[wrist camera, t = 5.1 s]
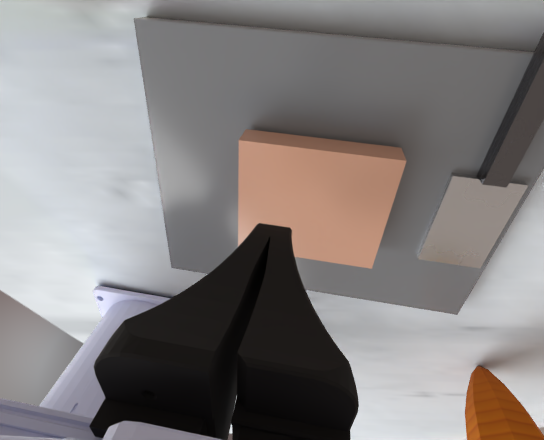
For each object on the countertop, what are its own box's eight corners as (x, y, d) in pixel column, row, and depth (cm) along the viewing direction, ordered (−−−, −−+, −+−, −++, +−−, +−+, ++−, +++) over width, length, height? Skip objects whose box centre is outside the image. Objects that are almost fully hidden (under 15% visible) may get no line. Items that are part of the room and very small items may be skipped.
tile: (245, 229, 19) (369, 248, 18) (238, 248, 18) (371, 268, 17) (247, 127, 15) (400, 145, 15) (238, 140, 14) (406, 160, 13)
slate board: (452, 301, 21) (457, 314, 20) (177, 257, 23) (171, 267, 22) (589, 56, 13) (607, 61, 12) (145, 16, 14) (133, 18, 14)
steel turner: (478, 264, 18) (483, 275, 17) (416, 255, 18) (419, 265, 17) (612, 28, 11) (629, 30, 11) (514, 20, 12) (525, 22, 11)
